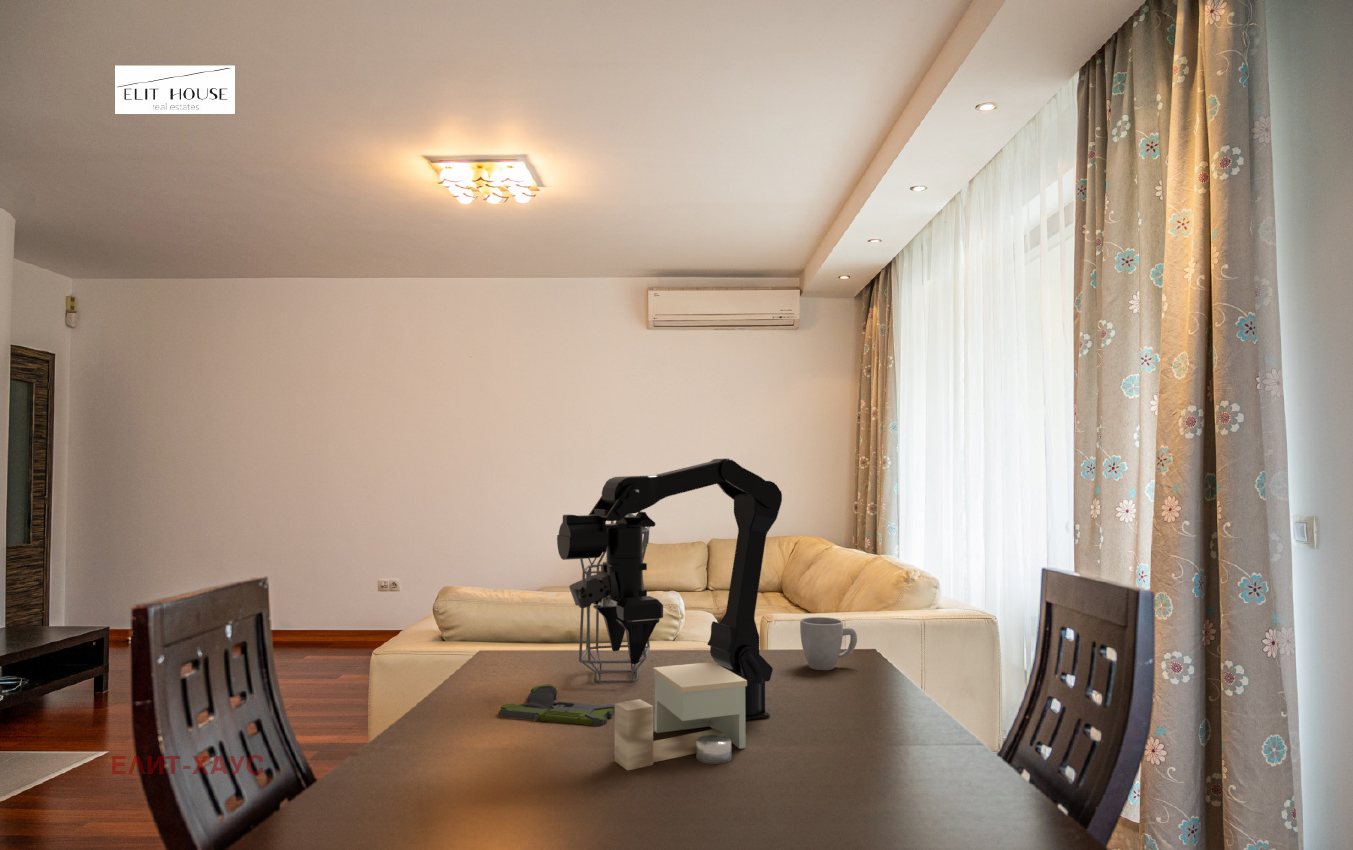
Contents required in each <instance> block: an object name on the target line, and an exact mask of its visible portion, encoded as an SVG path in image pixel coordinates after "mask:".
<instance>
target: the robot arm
mask: <svg viewBox="0 0 1353 850" xmlns="http://www.w3.org/2000/svg"><path fill="white" fill-rule="evenodd" d="M714 485H717V486H718V487H719V488H720V489H721V491H722V492H723V493H724V494H725V495H726V496H728V497H729V498H730V499H732V500H733V516H734V519H735V523H736V525H737V528H738V529H737V539H736V545H735V550H734V557H733V565H732V572H731V577H730V583H729V590H728V595H727V605H726V609H725V614H724V615H723V617H722V618H721V619H720V621H718V622H717V621H712V622H711V626H710V637H709V640H708V642H707V646H709V647H710V649H709V650H710V651H709V652H710V657H711V658H712V660H714V661H713V662H714V663H716V664H718V665H720V666H722V667H723V668H725V669H727V670H729V671H731V672H732V673H734V674H736V675H738V676H740V677H742V678H743V679H745V680H747V686H745V721H746V720H754V719H763V718H764V719H766V718H770V717H771V713H770V712H768V711H766V682H770V681H771V677H772V673H773V667H772V666H771V664H769V663H768V661H766V660H765V658H764V657H762V655H761V654H760V634H759V631H758V627H757V624H756V621H755V617H756V616H755V615H756V608H757V601H758V594H759V589H760V581H761V574H762V569H763V568H762V566H763V561H764V560H763V559H764V552H765V546H766V539H767V534H768V532H769V531H770V529H772V527H773V525H774V523H775V522H776V520H777V519H778V516H779V512H780V509H781V506H782V502H783V494H782V493H783V492H782V490H780V488H779V486H778V485H777V484H776V483H775V482H774V481H771V480H766V479H764V478H762V477H761V476H760V475H758V474H756V473H754V472H752V471H750V470H748V469H746V468H745V467H743V466H742V465H740V464H739V463H737V462H736V461H735V460H733V459H732V458H713V459H712V460H710V461H708V462H703V463H699V464H694V465H690V466H687V467H683V468H678V469H675V470H670V471H666V472H662V473H657V474H654V475H653V474H651V475H631V476H630V475H628V476H625V475H624V476H613V477H611V478H609V479H607V480H606V481H605V484H604V485H603V487H602V491H601V496H600V498H599V499H598V501H596V504H595V505H594V506H593V508H592V509H591V511H590V513H588V514H586V515H575V514H563V515H562V523H561V524H560V526H559V529H558V534H557V537H556V543H557V550H558V555H559V557H560V558H561V559H562V561H563V560H564V561H567V560H580V559H583V560H584V559H588V558H590V559H595V558H596V559H598V558H599V559H600V558H601V556H602V554H603V552H606V553H605V556H606V557H605V558H606V561H603V562H602V564H601V563H600V564H601V566H600V571H601V572H600V573H598V574H597V573H594V575H592V574H591V576H590V577H587V578H586V577H585V579H583V580H582V579H581V580H579V581H578V580H577V582H574V583H571V584H570V585H569V591H570V592H571V597H572V599H573V602H574V605H575V606H578V607H579V608H580V609H581V608H584V609H585V608H586V609H587V607H589V606H590V607H591V606H592V604H593V606H592V608H594V609H595V611H596V610H597V611H598V612H599V615H601V616H602V617H603V619H604V624H605V627H606V631H607V635H608V640H609V643H610V645H611V648H610V649H611V651H613V652H619V651H620V649H621V648H620V646H621V645H622V643H623V641H624V636H625V635H626V641H627V642H626V643H627V644H626V645H628V647H627V650H628V656H629V659H630V663H629V664H630V665H631V664H633V665H634V664H637V665H638V663H640V662H639V660H640V658H642V657H641V655H642V653H643V651H644V649H645V646H647V642H648V640H649V641H650V637H651V636H652V634H653V632H654V629H655V628H656V625H657V624H659V623H660V619H663V618H664V605H663V603H662V602H661V601H660V600H659V599H658V598H655V597H653V596H651V595H648V590H647V589H645V588H644V589H643V582H644V571H647V570H648V563H646V562H644V560H643V550H644V549H643V537H644V534H643V527H646V528H647V527H650V528H652V527H653V528H654V527H655V526H656V522H655V521H654V520H653V519H651V517H649V515H648V514H647V512H645V511H644V510H646V509H648V508H650V507H652V506H655V504H657V503H658V502H660V501H662V500H663V499H666V498H667V497H672V496H675V495H680V494H683V493H687V492H690V491H694V490H698V489H702V488H705V487H710V486H714ZM627 514H635V516H634V517H625V516H626V515H627ZM611 521H614V523H613V524H611V523H606V522H611ZM597 604H598V605H597Z"/></svg>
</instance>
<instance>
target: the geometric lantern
mask: <svg viewBox="0 0 1353 850" xmlns="http://www.w3.org/2000/svg"><path fill="white" fill-rule="evenodd" d="M634 516H636V514H634V513H632V514H627V515H626V516H625V517H634ZM613 523H615V521H610V524H613ZM650 530H651V527H643V561H644V559H645V555H646V550H647V547H648V545H649V543H650V542H649V539H650ZM604 556H606V552H602V554H601V556H600V557H599V559H598V562H597V563H596V564H595V562H596V560H597V558H593V561H592V559H591V558H587V559H588V562H589V565H587V566H586V567H585V563H584V559H579V561H580V565H581V571H582V576H581V577H582V578H581V580H583V579H585V578H587V577H590V576H592V574H598V573H600V572H601V570H600V567H601V562H602V561H603V559H604ZM592 568H596V571H595V570H592ZM643 589H645V584H644V581H643ZM597 605H598V604H597ZM584 611H585V608H580V622H579V623H580V624H579V650H578V653H579V654H578V655H579V656H578V661H579V663H581V664H583V665H584V666H585V667H587V668H588V669H589V670H591V671H592V672H594V682H596V683H623V682H624V683H625V682H626V683H632V682H633V683H634V682H636V681H638V680H639V670H638V669H639V668H640V666H641V665H642V664H643V663H644V662H645V661H646V660H647V658H648V655H649V652H650V648H651V645H650V644H651V643H650V639H649V640H648V642H647V644H646V646H645V649H644V651H643V653H642V655H641V658H640V660H639V662H638V663H639V664H638V663H637V664H631V663H630V658H628V659H615V660H613V659H611V660H609V659H608V660H601V656H600V653H599V652H600V651H599V649H612V648H611V644H610V645H599V632H600V631H599V629H600V627H599V626H600V624H599V622H600V621H599V620H600V617H599V616H600V613H599V612H598V611H597V610H596V609H595V611H596V612H595V617H596V618H595V646H591V621H590V619H591V618H590V617H591V606H589V607H586V640H585V642H586V643H585V649H584V652H583V637H584V636H583V635H584V616H585V615H584ZM621 648H628V644H621V646H620V649H621ZM591 650H596V655H597V658H598V660H597V659H596V657H595V656H594V655H593V653H592V652H591ZM586 655H587V659H584V658H585V657H586ZM591 658H592V659H591ZM589 664H590V665H591V666H592V667H591V666H590V665H589ZM598 664H599V666H598ZM602 664H630V669H629V668H628V669H602ZM630 672H631V679H602V676H601V673H605V674H606V673H630ZM634 673H635V675H634Z"/></svg>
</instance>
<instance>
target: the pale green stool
mask: <svg viewBox="0 0 1353 850" xmlns="http://www.w3.org/2000/svg"><path fill="white" fill-rule="evenodd" d="M652 669H653V671H652V673H653V674H654V733H656V734H658V733H667V732H668V733H669V732H676V731H683V730H689V729H690V730H691V729H700V728H707V727H708V728H709V727H710V728H711V729H717V730H719V731H721V732H722V733H724V736H726V737H728V738H730V739H731V744H733V745H734V746H735V747H736V748H738V749H739V750H740V749H746V746H747V745H746V743H747V742H746V720H745V686H747V680H745V679H743V678H742V677H740V676H738V675H736V674H734V673H732V672H731V671H729V670H727V669H725V668H723V667H722V666H720V665H718V664H717V663H716V662H715V661H709V662H708V661H707V662H698V663H688V664H686V663H685V664H678V665H676V664H675V665H665V666H657V667H656V666H655V667H653V668H652Z"/></svg>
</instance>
